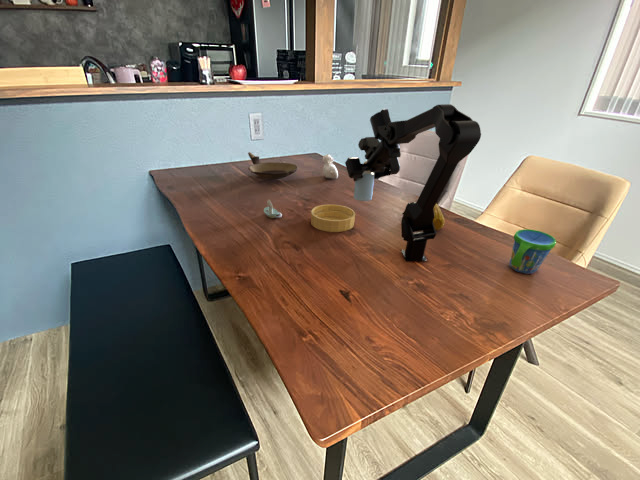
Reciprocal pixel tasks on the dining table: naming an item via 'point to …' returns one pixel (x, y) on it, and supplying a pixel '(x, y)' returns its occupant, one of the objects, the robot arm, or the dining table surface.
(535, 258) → the snack cup
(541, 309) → the dining table surface
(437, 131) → the robot arm
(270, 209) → the pacifier
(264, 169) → the oil lamp
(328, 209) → the bowl
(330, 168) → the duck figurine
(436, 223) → the food
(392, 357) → the dining table surface
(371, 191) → the baby bottle
